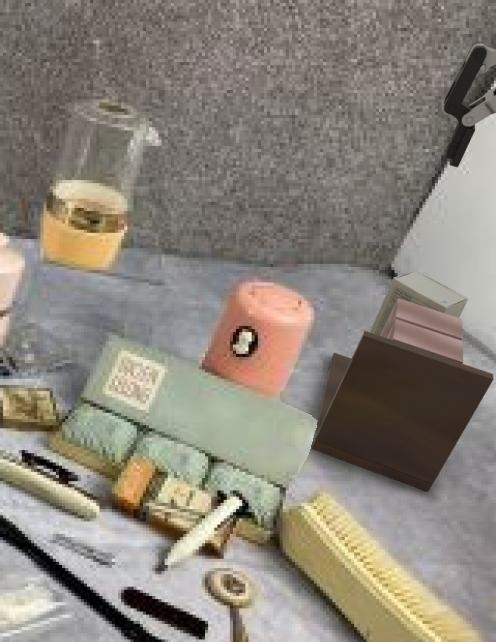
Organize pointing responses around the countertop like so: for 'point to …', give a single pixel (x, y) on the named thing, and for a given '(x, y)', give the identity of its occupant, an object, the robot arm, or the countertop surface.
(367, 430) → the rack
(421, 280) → the cosmetic box
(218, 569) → the countertop surface
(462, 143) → the robot arm
